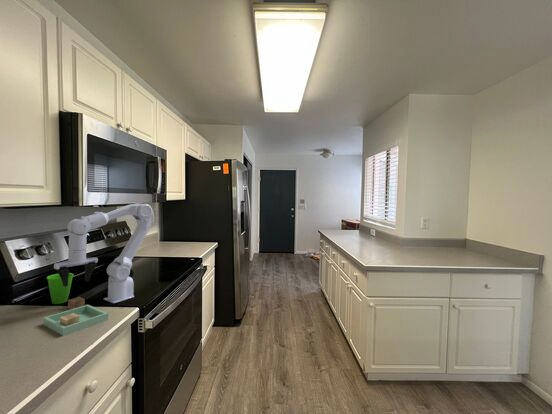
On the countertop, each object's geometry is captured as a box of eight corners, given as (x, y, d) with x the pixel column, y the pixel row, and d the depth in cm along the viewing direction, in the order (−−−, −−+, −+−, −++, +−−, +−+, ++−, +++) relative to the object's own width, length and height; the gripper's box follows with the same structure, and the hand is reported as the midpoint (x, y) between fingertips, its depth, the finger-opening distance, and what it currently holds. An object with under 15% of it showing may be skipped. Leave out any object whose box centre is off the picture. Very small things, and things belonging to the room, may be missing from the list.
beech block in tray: (73, 324, 93) (73, 313, 93) (79, 327, 91) (79, 315, 91) (59, 328, 90) (59, 317, 90) (65, 332, 88) (65, 320, 88)
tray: (87, 312, 105) (87, 304, 104) (108, 321, 98) (108, 313, 98) (43, 326, 92) (43, 317, 92) (63, 337, 86) (63, 328, 85)
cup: (41, 302, 111) (42, 276, 111) (66, 296, 119) (67, 271, 119) (52, 307, 107) (52, 280, 107) (77, 300, 115) (78, 275, 115)
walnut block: (79, 306, 109) (79, 296, 109) (84, 308, 108) (84, 299, 107) (67, 309, 106) (68, 299, 106) (73, 312, 104) (73, 302, 104)
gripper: (91, 246, 114) (90, 277, 115) (50, 250, 102) (49, 286, 102) (101, 248, 111) (100, 280, 111) (59, 253, 98) (58, 289, 99)
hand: (76, 283), depth 106 cm, fingers open, 7 cm apart
